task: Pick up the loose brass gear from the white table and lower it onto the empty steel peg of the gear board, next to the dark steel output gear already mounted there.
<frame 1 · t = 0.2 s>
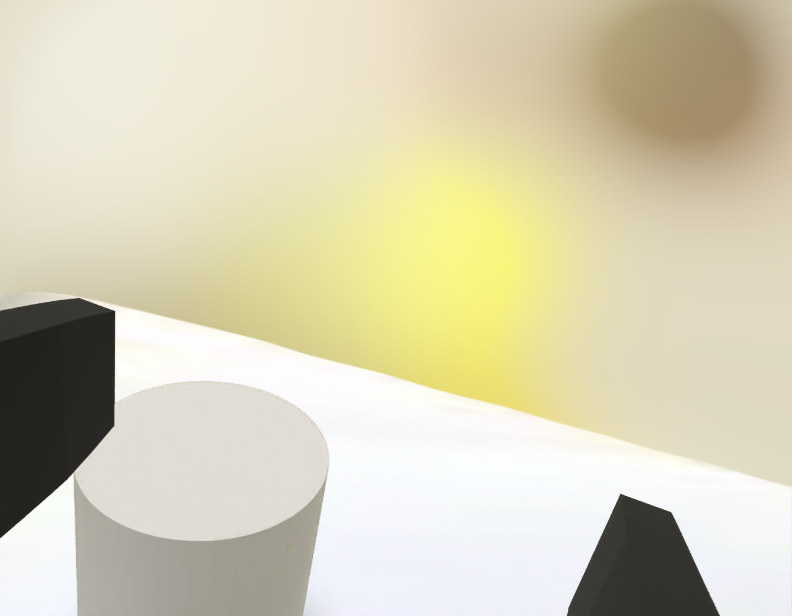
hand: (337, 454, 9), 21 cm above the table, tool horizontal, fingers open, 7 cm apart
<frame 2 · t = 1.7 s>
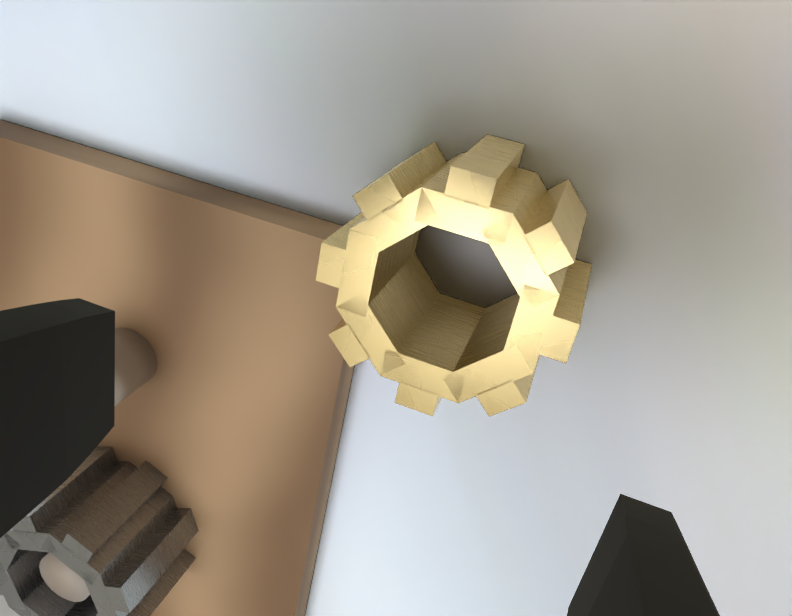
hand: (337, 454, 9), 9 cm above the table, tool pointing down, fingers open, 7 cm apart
output gear: (127, 514, 24), resting on gear board
gear board: (165, 431, 23), on the table
brass gear: (476, 247, 17), on the table
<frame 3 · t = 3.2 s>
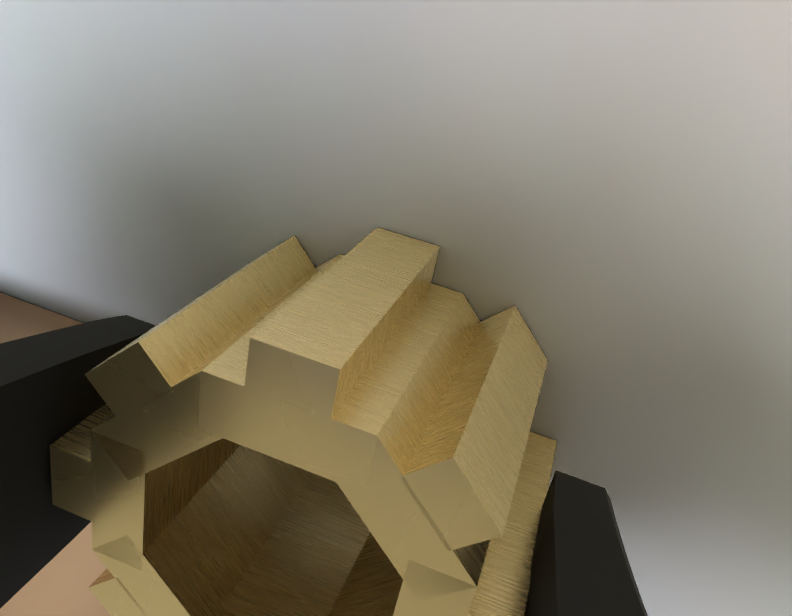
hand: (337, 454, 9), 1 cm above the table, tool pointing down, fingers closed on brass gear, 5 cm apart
brass gear: (372, 401, 11), on the table, touching gripper
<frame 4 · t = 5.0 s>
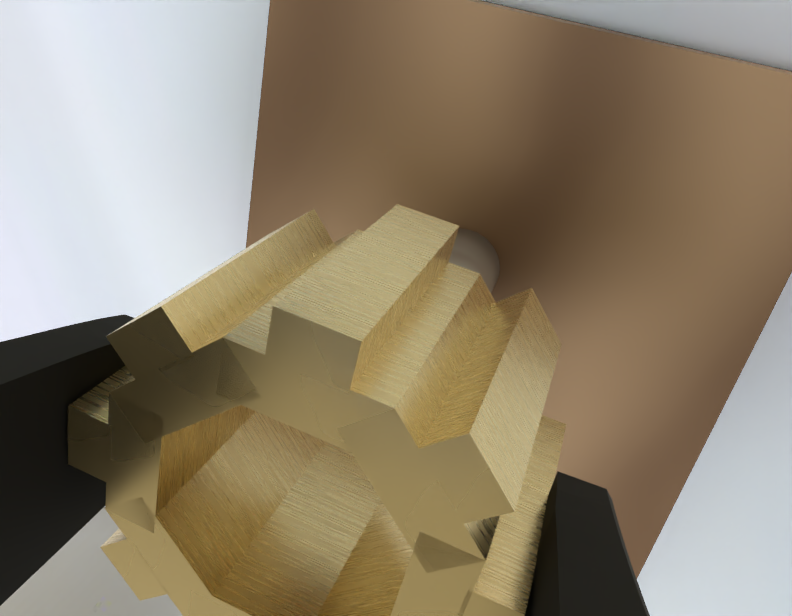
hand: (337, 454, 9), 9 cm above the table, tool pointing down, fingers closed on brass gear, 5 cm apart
gear board: (458, 372, 19), on the table
cup: (125, 585, 27), on the table
brass gear: (383, 378, 11), point 7 cm above the table, touching gripper
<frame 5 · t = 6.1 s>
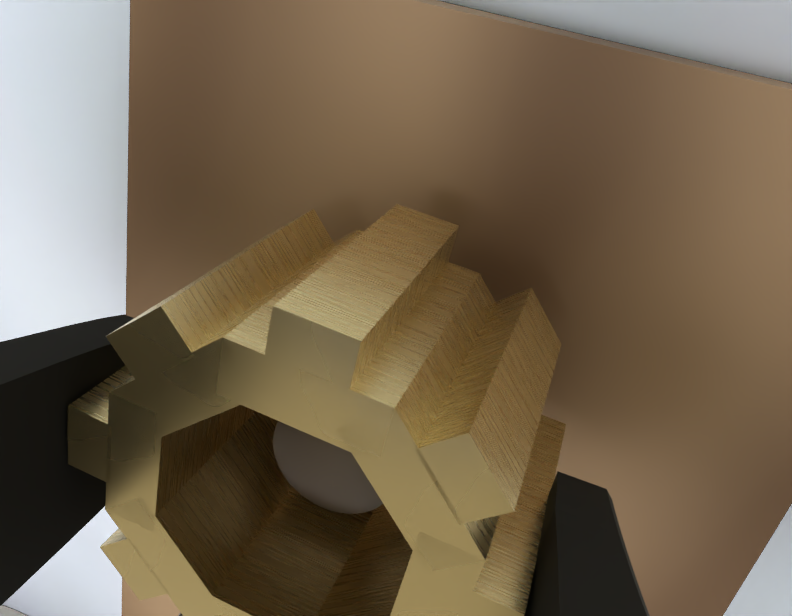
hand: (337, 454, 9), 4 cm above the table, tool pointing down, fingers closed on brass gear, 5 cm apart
gear board: (408, 479, 14), on the table
brass gear: (383, 378, 11), point 2 cm above the table, touching gripper
when the fingers open (4 cm above the table, at t = 6.9 s): brass gear drops 1 cm, resting on gear board.
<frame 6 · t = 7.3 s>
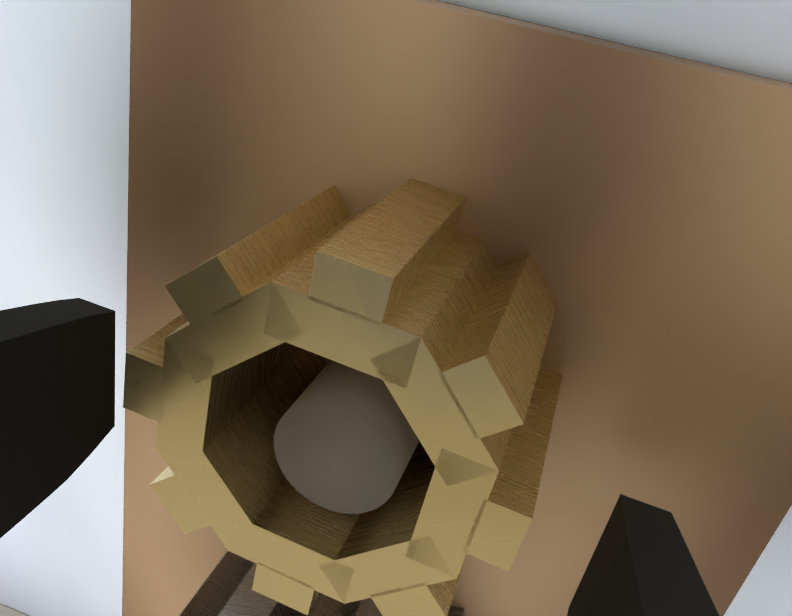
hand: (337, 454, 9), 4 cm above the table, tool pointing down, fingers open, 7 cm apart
output gear: (342, 610, 15), resting on gear board
gear board: (408, 479, 14), on the table
brass gear: (397, 339, 12), point 1 cm above the table, touching gear board
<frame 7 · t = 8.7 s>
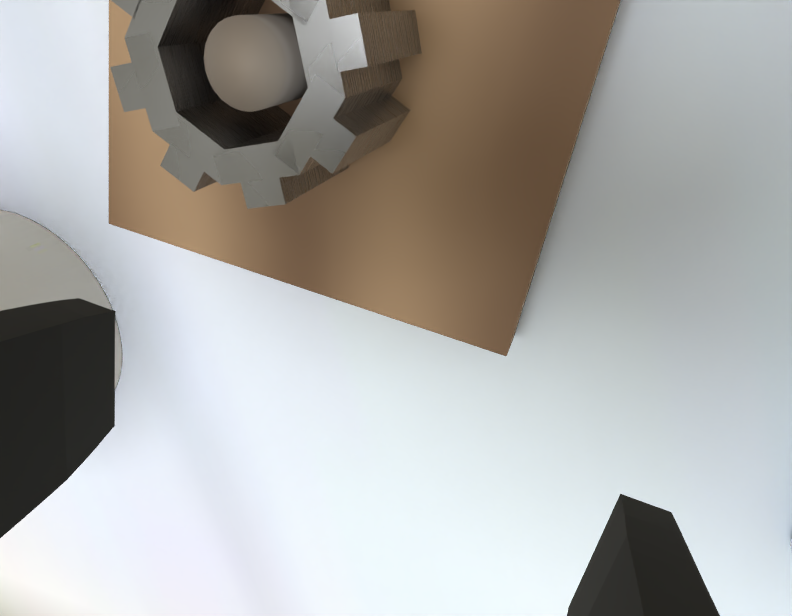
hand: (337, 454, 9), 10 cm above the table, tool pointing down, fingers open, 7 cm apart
output gear: (307, 54, 16), resting on gear board
cup: (28, 318, 25), on the table
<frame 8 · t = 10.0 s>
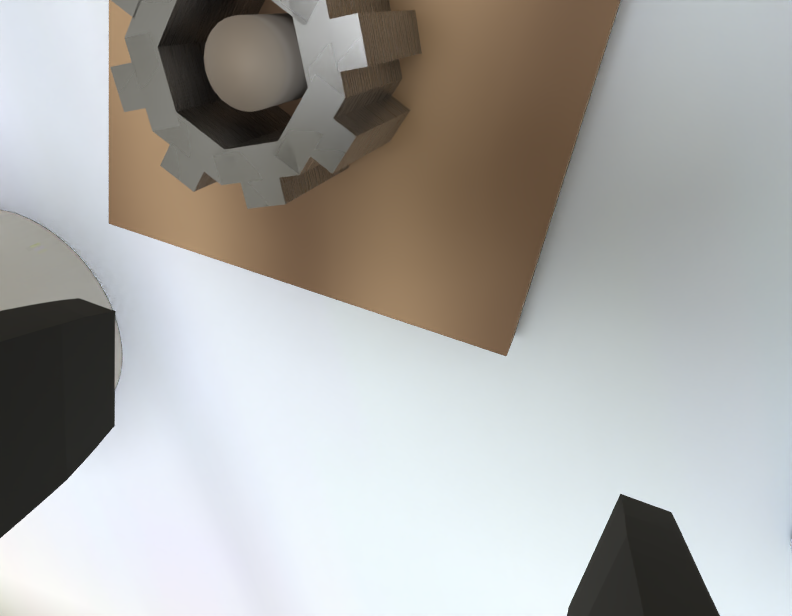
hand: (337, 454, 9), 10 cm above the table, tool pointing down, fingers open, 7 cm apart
output gear: (307, 54, 16), resting on gear board
cup: (28, 318, 25), on the table
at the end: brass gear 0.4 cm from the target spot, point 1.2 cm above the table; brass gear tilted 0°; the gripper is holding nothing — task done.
